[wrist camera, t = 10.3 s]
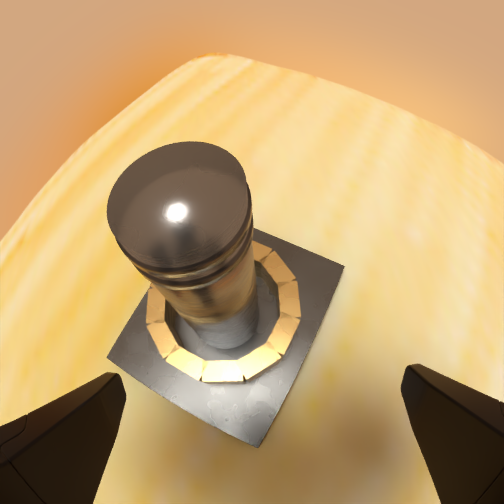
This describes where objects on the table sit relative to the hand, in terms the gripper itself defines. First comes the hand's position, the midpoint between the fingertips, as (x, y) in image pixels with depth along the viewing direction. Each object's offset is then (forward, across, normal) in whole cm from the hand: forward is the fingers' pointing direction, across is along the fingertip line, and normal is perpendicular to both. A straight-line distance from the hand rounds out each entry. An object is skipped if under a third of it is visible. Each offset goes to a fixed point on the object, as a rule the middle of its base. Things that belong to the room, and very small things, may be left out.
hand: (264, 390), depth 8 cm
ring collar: (+12, +2, +4) cm, 13 cm away
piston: (+12, +2, +3) cm, 12 cm away
